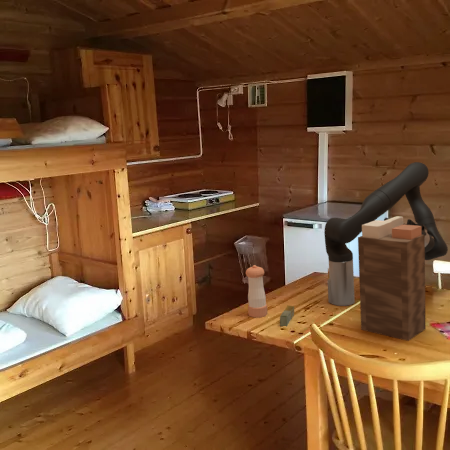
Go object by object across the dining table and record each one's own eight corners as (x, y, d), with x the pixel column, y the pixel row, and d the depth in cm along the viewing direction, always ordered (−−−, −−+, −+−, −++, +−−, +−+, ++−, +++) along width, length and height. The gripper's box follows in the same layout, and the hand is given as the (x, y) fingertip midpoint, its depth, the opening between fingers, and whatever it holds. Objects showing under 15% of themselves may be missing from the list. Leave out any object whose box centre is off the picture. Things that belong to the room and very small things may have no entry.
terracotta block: (402, 233, 179) (402, 224, 179) (421, 235, 175) (421, 226, 174) (392, 237, 175) (391, 228, 174) (411, 239, 170) (411, 230, 169)
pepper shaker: (244, 315, 207) (240, 266, 204) (256, 309, 213) (253, 261, 209) (259, 318, 202) (255, 269, 199) (271, 312, 208) (268, 264, 204)
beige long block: (392, 225, 193) (391, 214, 192) (408, 226, 188) (408, 215, 188) (362, 237, 179) (361, 225, 178) (378, 238, 175) (378, 226, 174)
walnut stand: (379, 318, 193) (376, 230, 187) (425, 328, 181) (424, 234, 175) (361, 329, 185) (357, 237, 179) (408, 340, 173) (406, 242, 167)
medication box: (287, 327, 193) (286, 316, 192) (279, 326, 194) (279, 316, 193) (294, 315, 204) (294, 305, 203) (287, 314, 205) (287, 304, 204)
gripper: (399, 224, 205) (380, 209, 194) (436, 227, 195) (418, 212, 184) (395, 243, 204) (375, 229, 193) (432, 247, 194) (413, 233, 183)
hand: (396, 221), depth 188 cm, fingers open, 8 cm apart
